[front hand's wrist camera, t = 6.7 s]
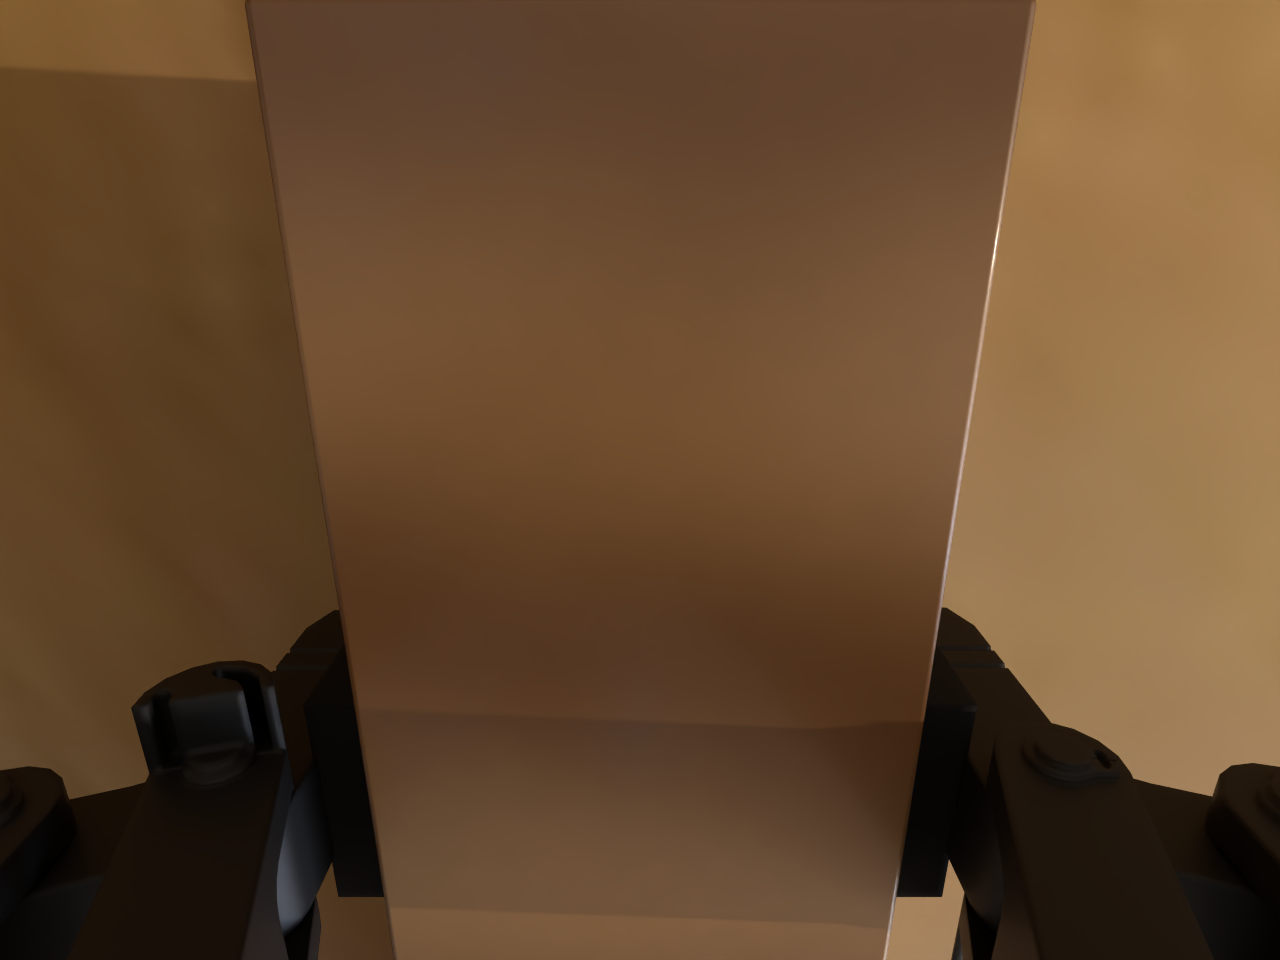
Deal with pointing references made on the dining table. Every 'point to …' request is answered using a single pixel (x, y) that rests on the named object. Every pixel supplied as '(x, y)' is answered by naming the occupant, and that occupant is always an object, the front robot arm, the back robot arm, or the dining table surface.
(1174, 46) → the dining table surface
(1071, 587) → the dining table surface
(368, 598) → the beam
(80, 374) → the dining table surface
